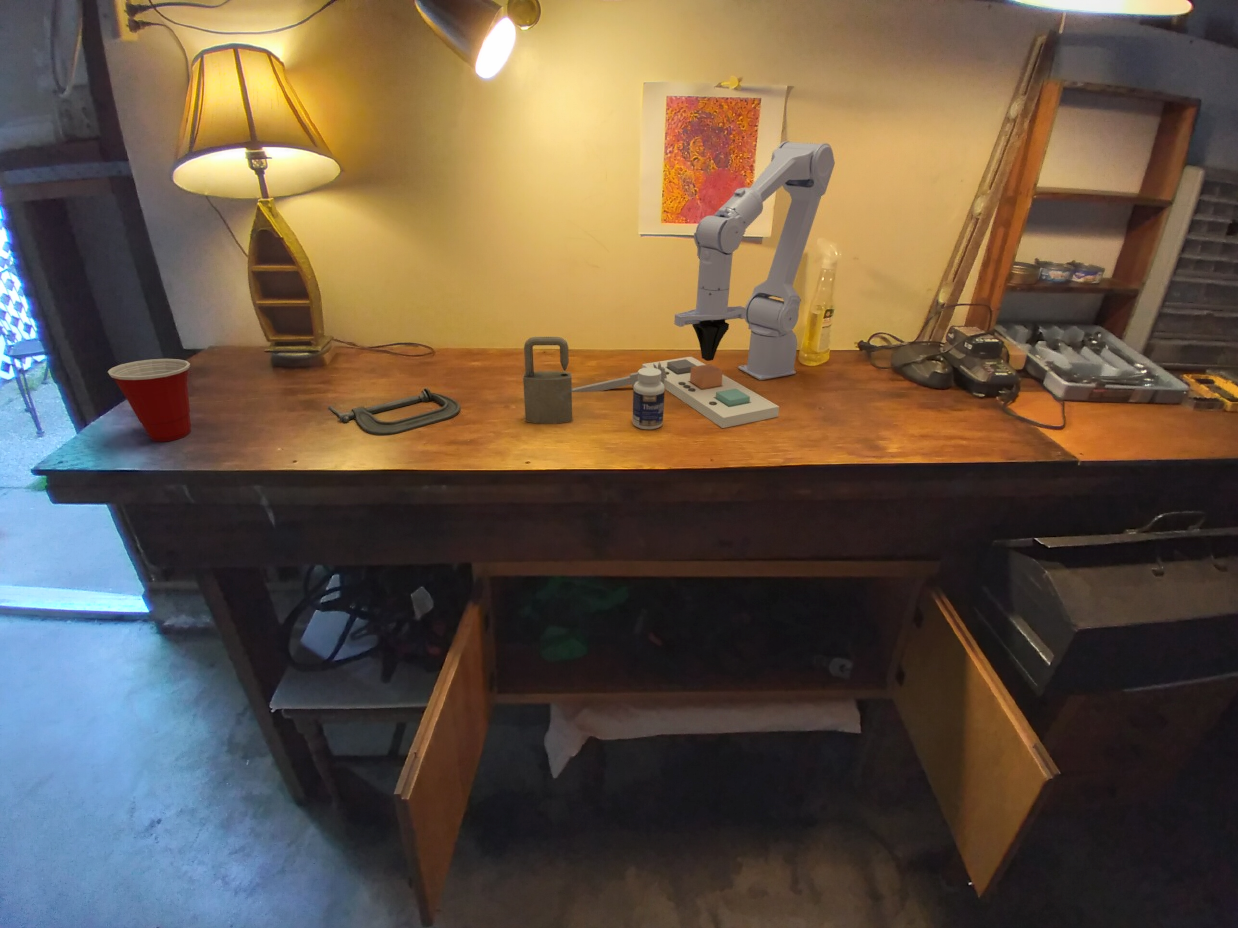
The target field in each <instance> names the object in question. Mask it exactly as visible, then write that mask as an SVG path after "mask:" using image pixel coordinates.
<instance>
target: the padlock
mask: <svg viewBox="0 0 1238 928" xmlns="http://www.w3.org/2000/svg"><path fill="white" fill-rule="evenodd" d="M534 346H558V347H559V357H560V358H559V361H560V365H561V368H562V370H563V371H560V370H553V371H552V370H543V371H541V370H538V371H537V370H536V371H535V369H534V368H535V367H534V351H533V348H534ZM523 352H524V353H523V354H524V371H525V372H523V376H522V383H523V396H524V397H523V398H524V419H525V422H526V423H531V424H532V423H534V424H563V423H568V422H570V423H571V422H573V394H572V393H573V392H572V389H573V387H572V385H573V384H572V382H573V381H572V379H573V378H572V372H570V371H568V372H567V368H568V365H569V363H570V361H569V360H570V359H569V357H570V356H569V345H568V341H567V340H566V339H564V338H563V337H560V336H533V337H529V338H528V339H527V340H526V341H525V342H524V346H523Z"/></svg>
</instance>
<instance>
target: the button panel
mask: <svg viewBox="0 0 1238 928" xmlns="http://www.w3.org/2000/svg"><path fill="white" fill-rule="evenodd" d="M684 359H686V360H688V361H690V362H691V363H693V364H695V365H696V366H701V365H706V364H705V363H703V362H702V361H700V360H698V359H697V358H694V356H686V357H679V358H674V359H667V360H662V361H655V362H654V361H653V362H648V363H647V362H646V363H641V369H642V368H654V366H653V363H654V364H655V365H656V367H657V368H658V363H659V362H660V363H661V367H664V368H665V372H666V376H667V378H664V386H665V391H667V392H669V393H670V394H671V395H673V396H675V397H676V398H677V399H679V400H680V401H682V403H683V402H684V403H685V404H686V405H688V406H690V408H692V409H693V410H695V411H697V412H698V413H700V414H701V415H702V416H704V417H705V418H707V419H708V420H709V421H711V422H712V423H714V424H716V425H717V426H718V427H720V428H722V429H726V428H731V427H735V426H739V425H740V426H741V425H745V424H750V423H755V422H759V421H764V420H769V419H773V418H778V417H779V412H780V406H779V405H777V404H775V403H774V402H772V401H770V400H768V399H767V398H765V397H763V396H761V395H760V394H758V393H757V392H754V391H753V390H751V389H749V388H747V387H746V386H744V385H743V384H740V383H739V382H737V381H735V380H733V379H731V378H730V377H729V376H726V374H725V375H724V374H723V375H722V386H718V387H712V388H707V389H701V388H699V387H698V386H696V385H694V384H693V383H691V382H690V374H691V373H685V374H679V375H677V374H675V373H674V372H672V371H671V370H669V369H667V362H671V361H678V360H684ZM660 382H661V381H660ZM730 389H738V390H739V391H741V392H743V393H745V394H746V395H748V396H750V401H749V403H748V404H743V405H738V406H732V407H728V406H726V405H725V404H723V403H721V402H720V401H718V400H717V399H716V392H719V391H725V390H730Z"/></svg>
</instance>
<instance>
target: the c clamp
mask: <svg viewBox="0 0 1238 928" xmlns="http://www.w3.org/2000/svg"><path fill="white" fill-rule="evenodd" d="M419 402H421V403H422V402H423V403H424V402H426V403H429V402H436V403H437V404H439V405H441V407H440V408H438V409H434V410H429V411H426V412H422V413H419V414H414V415H412V416H409V417H405V418H401V419H397V420H393V421H384V420H380V419H378V418H377V417H376V416H374V414H376V413H377V414H378V413H381V412H386V411H390V410H393V409H394V410H395V409H398V408H400V407H406V406H409V405H413V404H416V403H417V404H418V403H419ZM327 408H328V410H329V411H330V412H333V413H334V414H335V415H337V416H338V419H339V422H340V423H343V422H346V423H347V422H349V421H351V420H353V419H355V420H356V422H357V424H358V426H359V427H360V428H361V429H362V430H363V431H365V432H366V433H367V434H369V435H373V436H392V435H397V434H401V433H405V432H409V431H412V430H415V429H419V428H422V427H426V426H428V425H429V426H430V425H433V424H436V423H440V422H443V421H444V422H445V421H447V420H450V419H453V418H454V417H456V416H457V415H458V414H459V413H460V412H461V404H460V403H459V402H458V401H456V400H455V399H454V398H451V397H448V396H447V395H444V394H442V393H435V392H432V391H431V390H430V389H429V388H428V387H427V388H424V389H422V390H421V392H420V394H418V395H413V396H409V397H404V398H401V399H400V398H399V399H397V400H392V401H388V402H384V403H380V404H376V405H372V406H368V407H367V406H366V407H365V406H364V405H361V406H357V407H354V408H352V409H351V411H346V412H340V411H339V410H337V409H336V408H335V407H334V406H333V405H329V406H328V407H327Z"/></svg>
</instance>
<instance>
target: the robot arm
mask: <svg viewBox="0 0 1238 928" xmlns="http://www.w3.org/2000/svg"><path fill="white" fill-rule="evenodd" d="M834 158H835V157H834V152H833V149H832V146H831V145H830V144H829V143H827V142H821V143H813V142H812V143H811V142H810V143H809V142H793V141H789V140H788V141H782V142H781V143H779V145H778V146H777V148H776V149H774V150H773V151H772V154H771V160H770V163H769V164H768V165H767V166H766V168H764V170H763V171H762V173H761V174H760V175H759V176H758V177H757V179H756V180H755V181H754V182H753V183H752V185H751V186H750V187H741V188H737V189H736V190H735V191H734V192H733V195H732V196H731V197H730V198H729V199H728V200H727V201H726V202H725V203H724V204H723V205H722V206H721V207H719V209H718V210H717V211H716V212H715V213H714V214H713V215H707V216H706V215H705V217H703V218H702V219H700V221H699V223H698V224H697V227H696V230H695V232H693V239H694V240H693V241H694V244H695V246H696V249H697V252H696V256H697V258H698V259H699V262H698V263H699V264H698V275H697V277H698V278H697V288H696V289H697V290H696V307H695V308H694V309H691V310H687V311H683V312H678V313H675V314H674V321H673V322H674V323H673V324H674V325H675V326H676V327H679V328H681V327H682V328H684V327H685V326H688V325H692V328H693V329H694V331H695V334H696V336H697V340H698V343H699V348H700V355H701V358H702V359H703V360H705V361H706V362H709V361H710V362H711V361H714V358H715V355H716V353H717V350H718V348H719V345H720V343H721V342H722V339H723V337H724V336H725V334H726V333H727V332H728V330H729V328H730V324H729V323H728V322H726V320H727V321H729V320H736V319H737V320H738V319H740V320H743V319H744V321H745V322H746V324H747V325H748V330H750V337H749V345H748V346H749V347H748V355H747V364H744V365H743V364H742V365H738V367H737V368H738V369H739V370H740V371H741V372H744V373H746V374H748V375H750V376H751V377H753V378H755V379H757V380H759V381H764V380H770V379H774V378H781V377H786V376H792V375H795V374H796V370H795V362H796V357H797V349H798V338H797V335H796V334H795V332H794V331H793V330H794V329H795V327H796V325H797V324H798V321H799V316H800V315H799V313H800V311H799V310H800V305H801V301H802V299H801V296H800V295H799V293H797V291H796V289H795V288H794V282H795V279H796V277H797V274H798V270H799V267H800V265H801V261H802V259H803V254H804V251H805V248H806V246H807V242H808V240H809V238H810V237H809V236H810V233H811V231H812V226H813V224H814V221H815V217H816V214H817V211H818V208H819V207H820V206H819V205H820V202H821V199H822V196H824V195H826V192H827V189H828V185H829V184H830V180H831V177H832V174H833V170H834V167H835V162H836V161H835V159H834ZM781 187H783V189H784V190H785V192H787V193H789V195H790V199H791V201H790V204H789V207H788V211H787V213H786V216H785V217H786V218H785V220H784V224H783V227H782V230H781V233H780V236H779V240H778V243H777V246H776V249H775V252H774V256H773V258H772V259H773V260H772V262H771V265H770V268H769V271H768V275H767V278H766V280H765V281H763V282H761V283H759V284H758V285H756V286H754V288H753V290H752V293H751V296H750V297H749V299H748V301H747V302H746V304H745V306H741V305H738V306H729V297H730V296H729V295H730V284H731V276H732V265H733V264H732V263H733V256H734V255H733V254H734V252H735V251H737V250H738V249H739V247H740V245H741V243H742V239H743V236H744V235H745V233H746V229H748V228H749V227H750V225H752V223H754V222H755V220H756V219H757V218H759V216H760V215H761V214H762V213H763V210H764V202H765V201H766V200H767V199H768V198H770V197H771V196H773V194H774V193H776V192H777V191H778V190H779V189H780V188H781ZM772 297H773V298H772ZM776 298H777V299H776ZM780 299H781V300H780Z"/></svg>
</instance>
